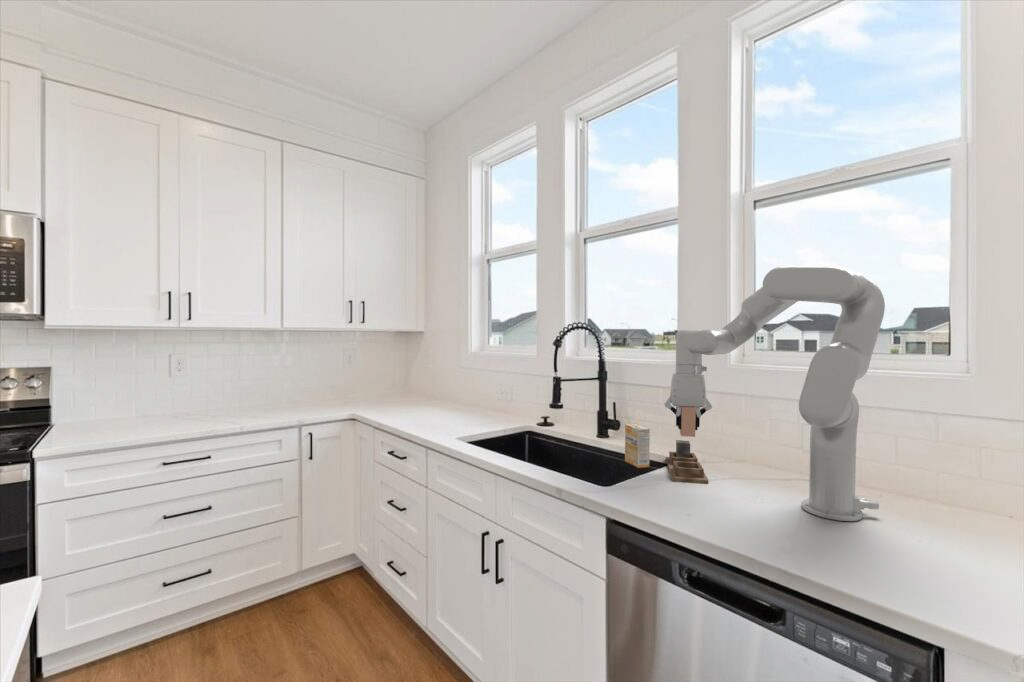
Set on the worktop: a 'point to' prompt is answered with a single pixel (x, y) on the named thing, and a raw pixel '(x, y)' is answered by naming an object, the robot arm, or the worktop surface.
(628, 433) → the supplement box
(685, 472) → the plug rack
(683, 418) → the terracotta plug
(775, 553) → the worktop surface
